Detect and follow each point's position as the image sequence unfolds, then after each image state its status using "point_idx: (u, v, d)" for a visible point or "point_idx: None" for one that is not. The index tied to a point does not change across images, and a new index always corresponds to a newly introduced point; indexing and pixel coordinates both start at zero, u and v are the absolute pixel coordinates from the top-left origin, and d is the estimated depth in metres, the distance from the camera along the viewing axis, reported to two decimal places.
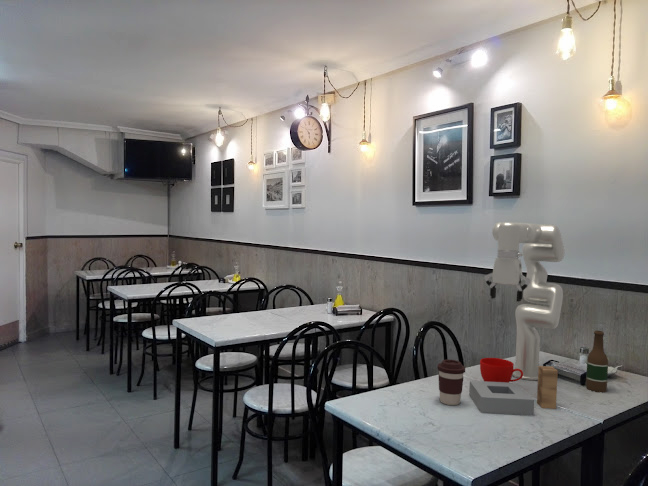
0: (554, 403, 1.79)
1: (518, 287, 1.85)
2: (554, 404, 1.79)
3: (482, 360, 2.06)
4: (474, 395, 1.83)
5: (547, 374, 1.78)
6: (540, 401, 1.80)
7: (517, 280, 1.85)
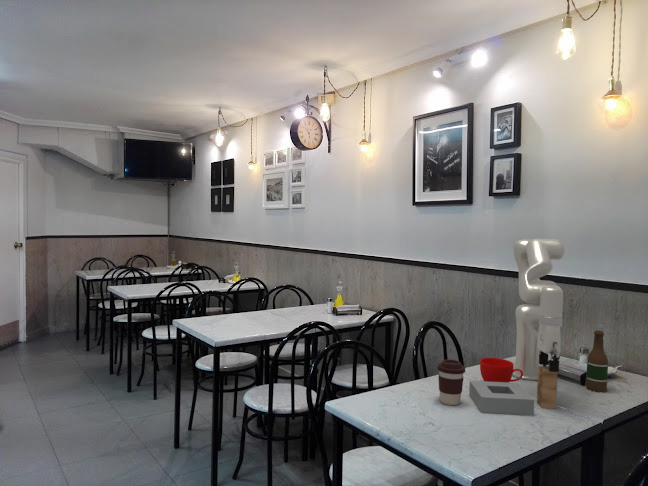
0: (554, 403, 1.79)
1: None
2: (554, 404, 1.79)
3: (482, 360, 2.06)
4: (474, 395, 1.83)
5: (547, 374, 1.78)
6: (540, 401, 1.80)
7: None
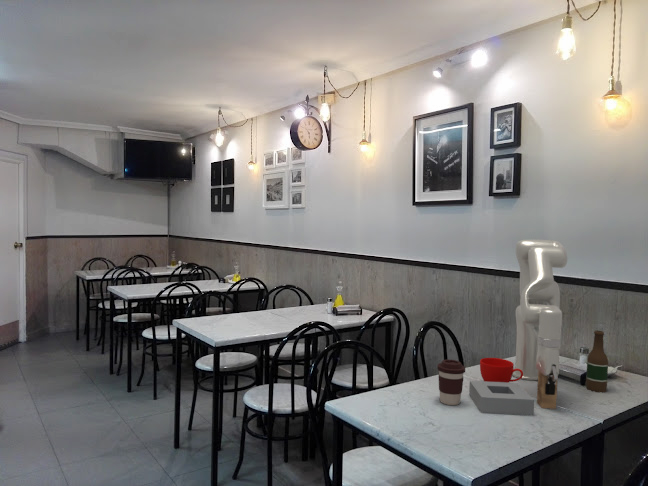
0: (554, 403, 1.79)
1: None
2: (554, 404, 1.79)
3: (482, 360, 2.06)
4: (474, 395, 1.83)
5: None
6: (540, 401, 1.80)
7: None
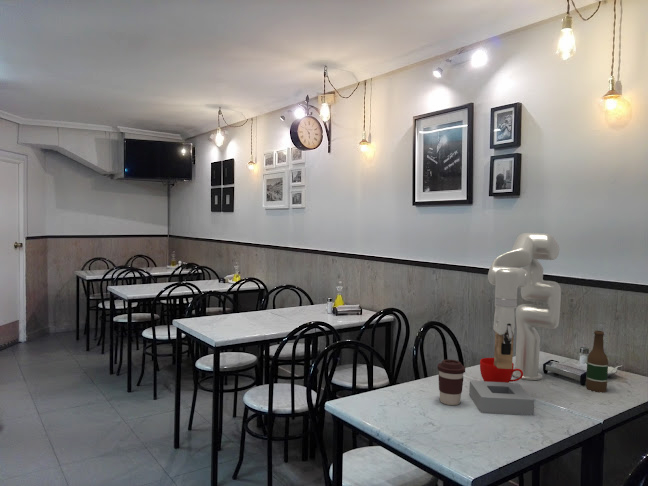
0: (510, 363, 1.78)
1: None
2: (510, 364, 1.78)
3: (482, 360, 2.06)
4: (474, 395, 1.83)
5: None
6: (496, 361, 1.80)
7: None
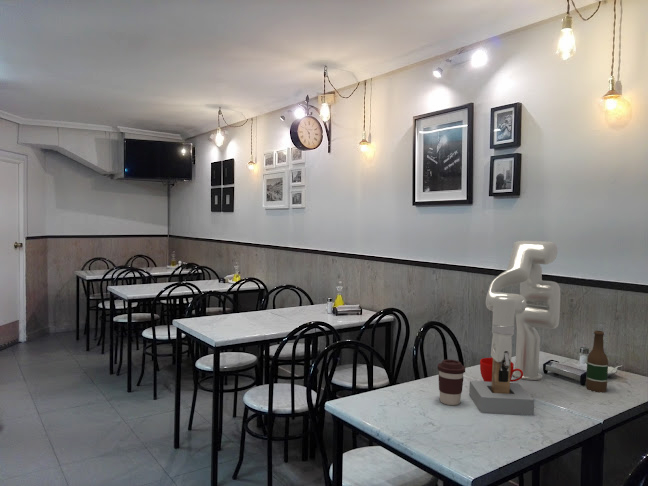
0: (507, 390, 1.79)
1: None
2: (507, 391, 1.79)
3: (482, 360, 2.06)
4: (474, 395, 1.83)
5: None
6: (494, 388, 1.80)
7: None
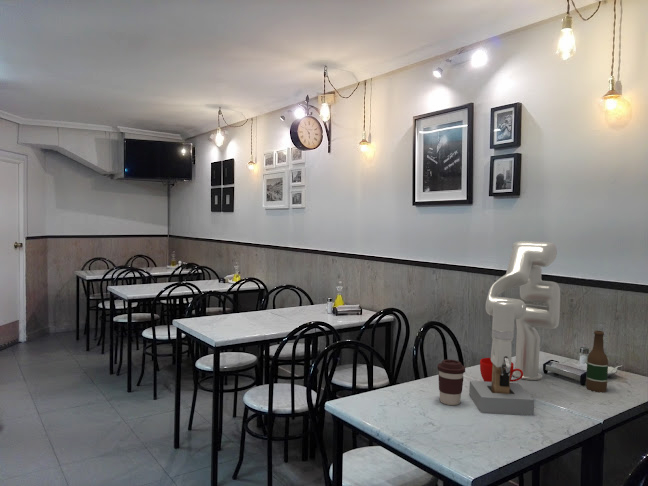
0: None
1: None
2: None
3: (482, 360, 2.06)
4: (474, 395, 1.83)
5: (500, 371, 1.79)
6: None
7: None
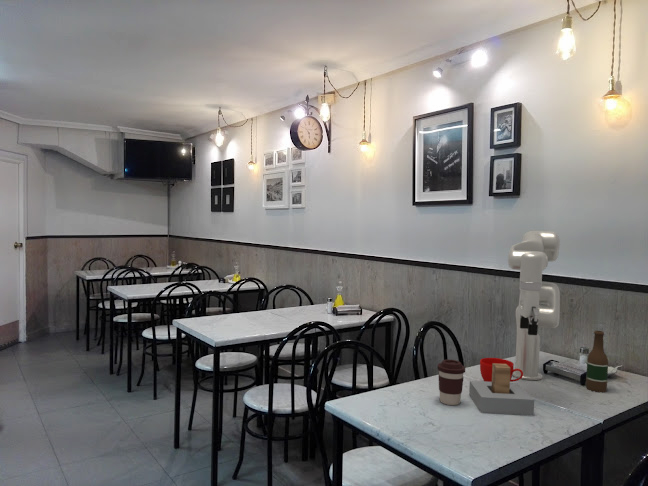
0: None
1: None
2: None
3: (482, 360, 2.06)
4: (474, 395, 1.83)
5: (500, 371, 1.79)
6: None
7: None
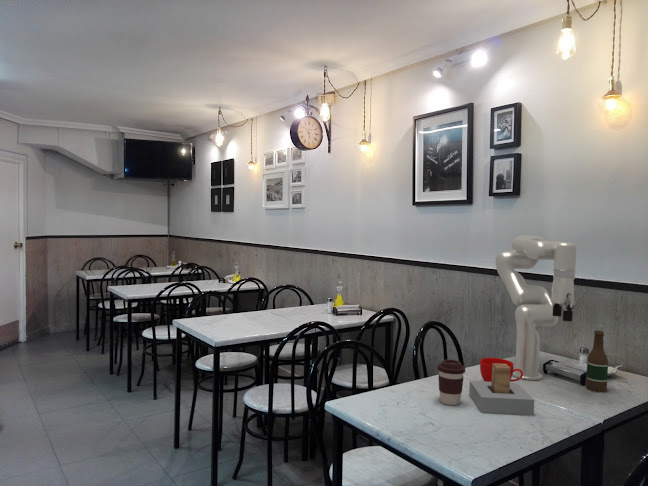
0: None
1: None
2: None
3: (482, 360, 2.06)
4: (474, 395, 1.83)
5: (500, 371, 1.79)
6: None
7: None
